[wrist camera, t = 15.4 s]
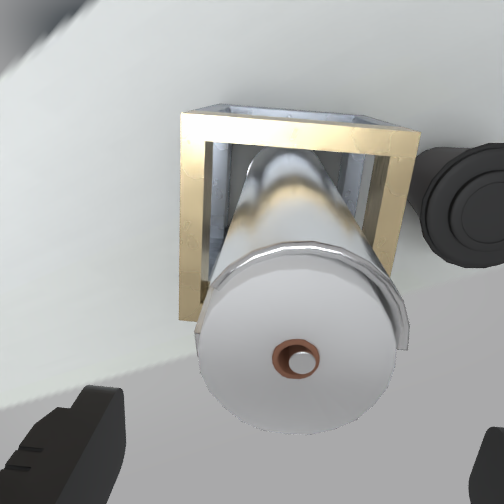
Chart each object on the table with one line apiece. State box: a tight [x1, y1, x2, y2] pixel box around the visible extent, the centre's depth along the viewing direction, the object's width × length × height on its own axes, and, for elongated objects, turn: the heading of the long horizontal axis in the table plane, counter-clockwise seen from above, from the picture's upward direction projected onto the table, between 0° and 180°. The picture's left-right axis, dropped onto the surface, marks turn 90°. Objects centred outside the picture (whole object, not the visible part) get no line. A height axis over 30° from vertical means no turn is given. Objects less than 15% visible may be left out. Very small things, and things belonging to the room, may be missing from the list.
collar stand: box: [179, 104, 421, 322], centre depth 28 cm, size 11×11×14 cm
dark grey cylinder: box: [407, 143, 504, 268], centre depth 29 cm, size 8×8×10 cm
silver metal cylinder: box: [194, 146, 410, 435], centre depth 23 cm, size 6×6×25 cm
